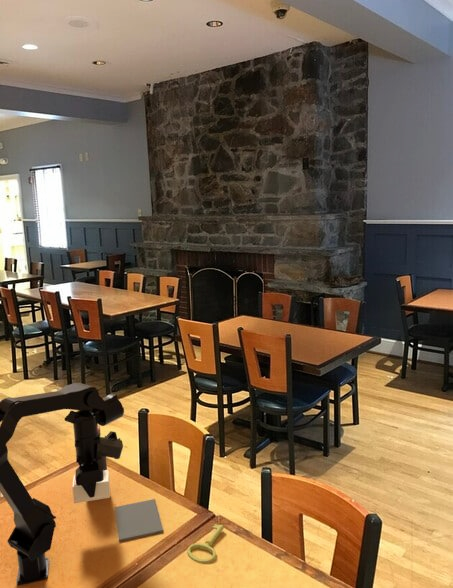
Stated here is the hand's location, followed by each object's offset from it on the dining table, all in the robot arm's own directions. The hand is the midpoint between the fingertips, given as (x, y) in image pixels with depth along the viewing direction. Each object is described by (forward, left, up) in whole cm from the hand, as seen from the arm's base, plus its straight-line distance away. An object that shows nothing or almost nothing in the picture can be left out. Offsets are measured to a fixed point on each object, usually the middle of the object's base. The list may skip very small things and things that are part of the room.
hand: (91, 490), depth 123 cm
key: (-16, -26, -12) cm, 33 cm away
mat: (0, -11, -11) cm, 15 cm away
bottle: (+17, -1, -11) cm, 20 cm away
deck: (0, 0, -1) cm, 1 cm away
